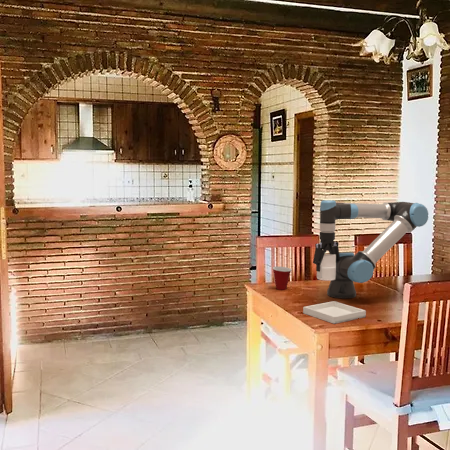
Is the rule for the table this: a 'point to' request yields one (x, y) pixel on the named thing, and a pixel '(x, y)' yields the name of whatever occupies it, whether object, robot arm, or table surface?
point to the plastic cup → (281, 277)
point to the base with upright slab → (328, 267)
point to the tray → (334, 312)
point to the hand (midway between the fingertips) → (326, 276)
